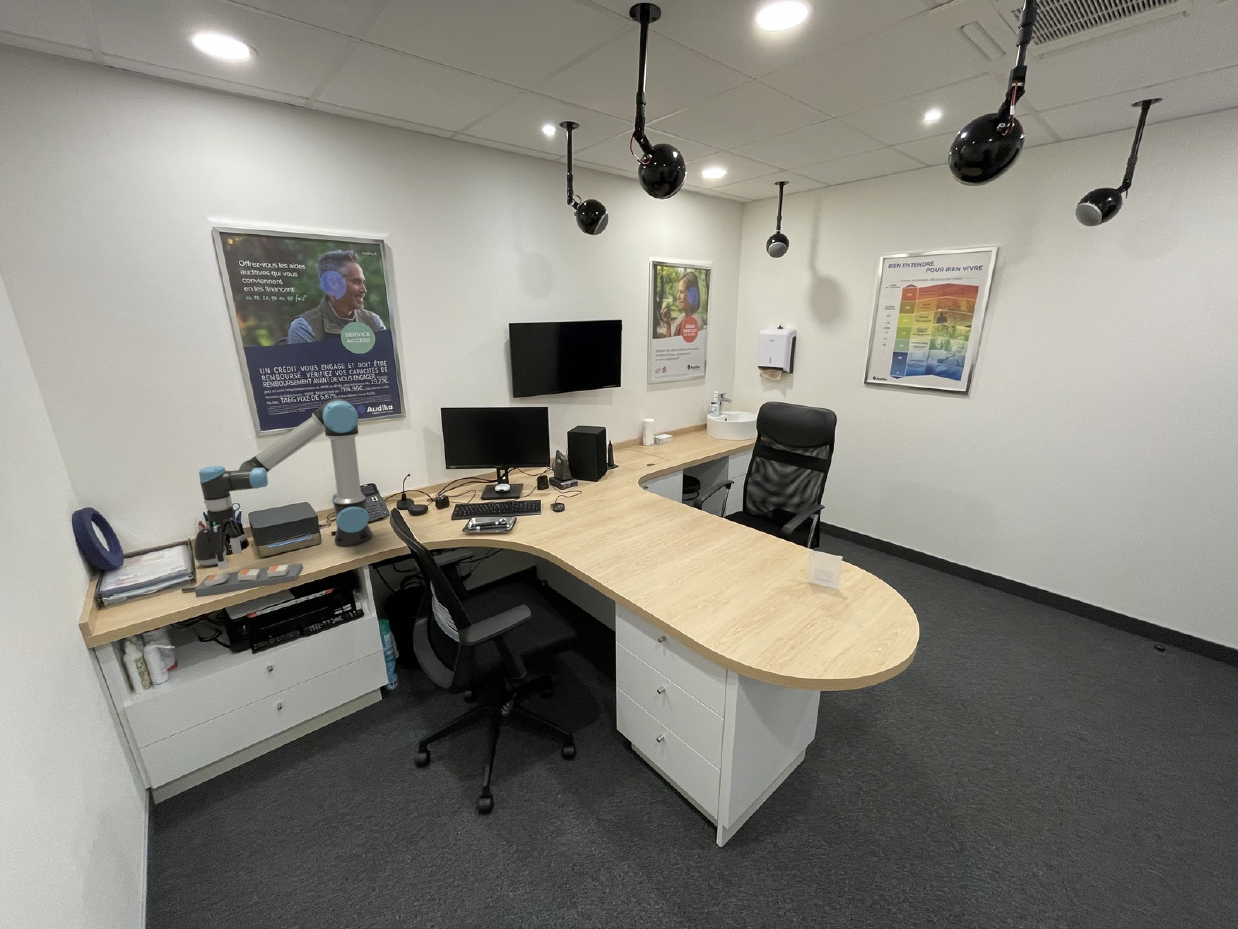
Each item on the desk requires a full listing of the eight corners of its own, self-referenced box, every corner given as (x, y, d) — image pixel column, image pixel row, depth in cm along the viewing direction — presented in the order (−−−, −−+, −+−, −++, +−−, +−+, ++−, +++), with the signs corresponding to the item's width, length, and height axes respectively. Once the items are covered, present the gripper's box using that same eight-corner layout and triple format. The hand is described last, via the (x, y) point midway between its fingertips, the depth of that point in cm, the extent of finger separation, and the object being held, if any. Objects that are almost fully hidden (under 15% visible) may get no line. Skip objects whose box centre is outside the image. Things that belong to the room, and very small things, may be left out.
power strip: (303, 570, 196) (302, 562, 195) (296, 582, 186) (294, 574, 185) (189, 585, 183) (187, 577, 183) (175, 600, 173) (173, 591, 173)
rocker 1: (229, 575, 182) (227, 570, 182) (224, 581, 178) (222, 576, 177) (212, 580, 181) (209, 575, 180) (206, 586, 177) (204, 581, 176)
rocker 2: (260, 574, 186) (260, 569, 185) (255, 580, 181) (255, 574, 181) (242, 574, 184) (242, 568, 183) (237, 580, 179) (237, 574, 179)
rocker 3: (289, 569, 189) (288, 564, 188) (285, 575, 184) (284, 569, 184) (271, 571, 187) (271, 566, 186) (268, 576, 183) (267, 571, 182)
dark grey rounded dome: (211, 569, 196) (203, 534, 192) (190, 567, 197) (181, 532, 193) (235, 558, 205) (227, 524, 201) (214, 556, 207) (206, 523, 203)
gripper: (220, 498, 190) (231, 548, 196) (191, 521, 168) (204, 577, 173) (243, 496, 193) (253, 546, 198) (218, 518, 170) (230, 574, 176)
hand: (230, 560), depth 186 cm, fingers open, 13 cm apart
